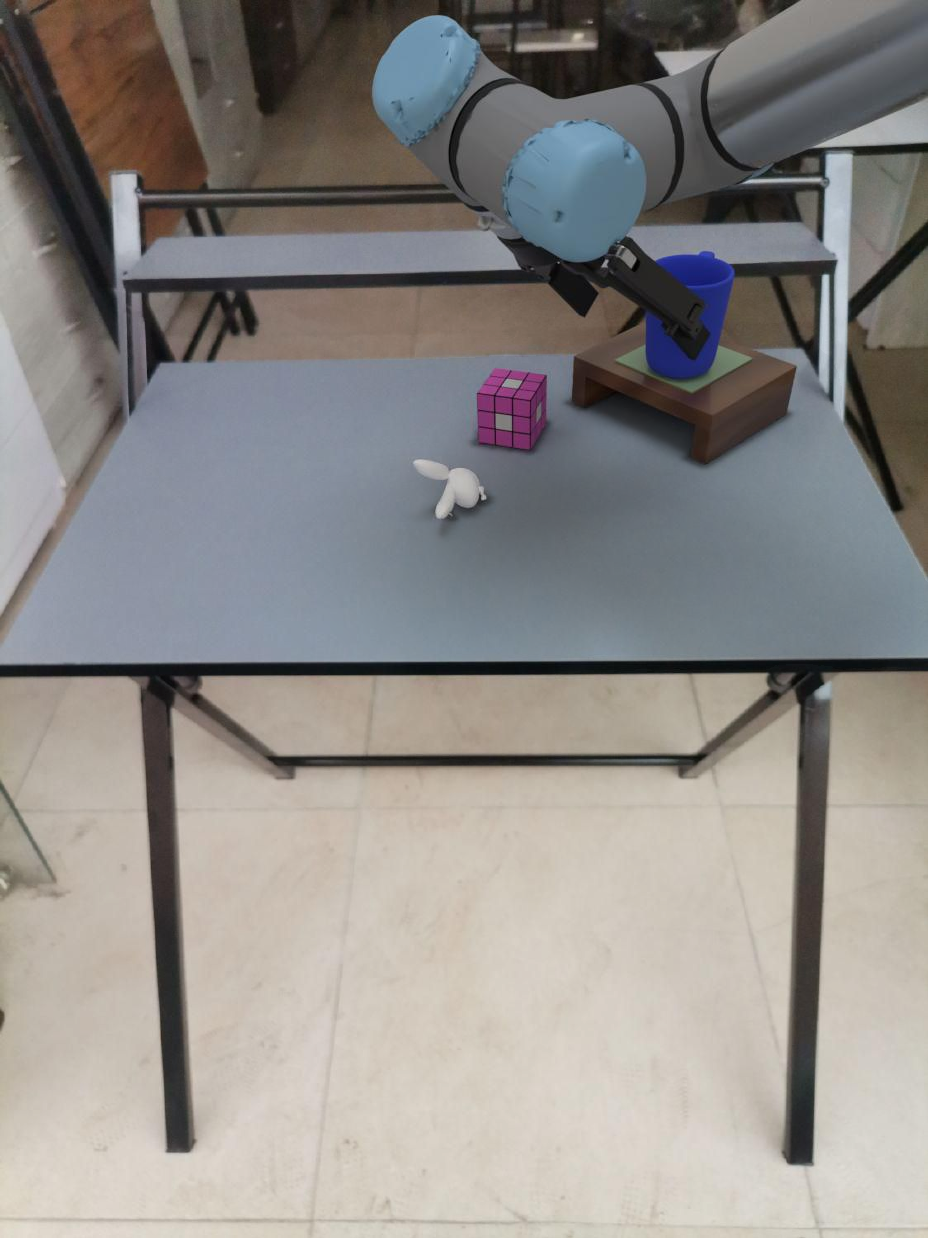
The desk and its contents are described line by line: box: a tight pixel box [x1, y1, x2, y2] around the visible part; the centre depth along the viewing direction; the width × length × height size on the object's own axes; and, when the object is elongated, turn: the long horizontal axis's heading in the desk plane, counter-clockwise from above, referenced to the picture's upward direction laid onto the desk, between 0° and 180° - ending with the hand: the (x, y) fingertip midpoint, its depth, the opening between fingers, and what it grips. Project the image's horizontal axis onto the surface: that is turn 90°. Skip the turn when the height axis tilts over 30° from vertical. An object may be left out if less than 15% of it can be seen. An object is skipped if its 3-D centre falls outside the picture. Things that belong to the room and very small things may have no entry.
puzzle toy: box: [476, 367, 548, 451], centre depth 95 cm, size 6×6×6 cm
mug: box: [645, 250, 736, 379], centre depth 92 cm, size 8×12×10 cm
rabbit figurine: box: [412, 458, 488, 520], centre depth 86 cm, size 6×4×8 cm
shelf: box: [571, 321, 798, 465], centre depth 97 cm, size 18×14×6 cm
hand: (642, 324), depth 88 cm, fingers open, 13 cm apart
